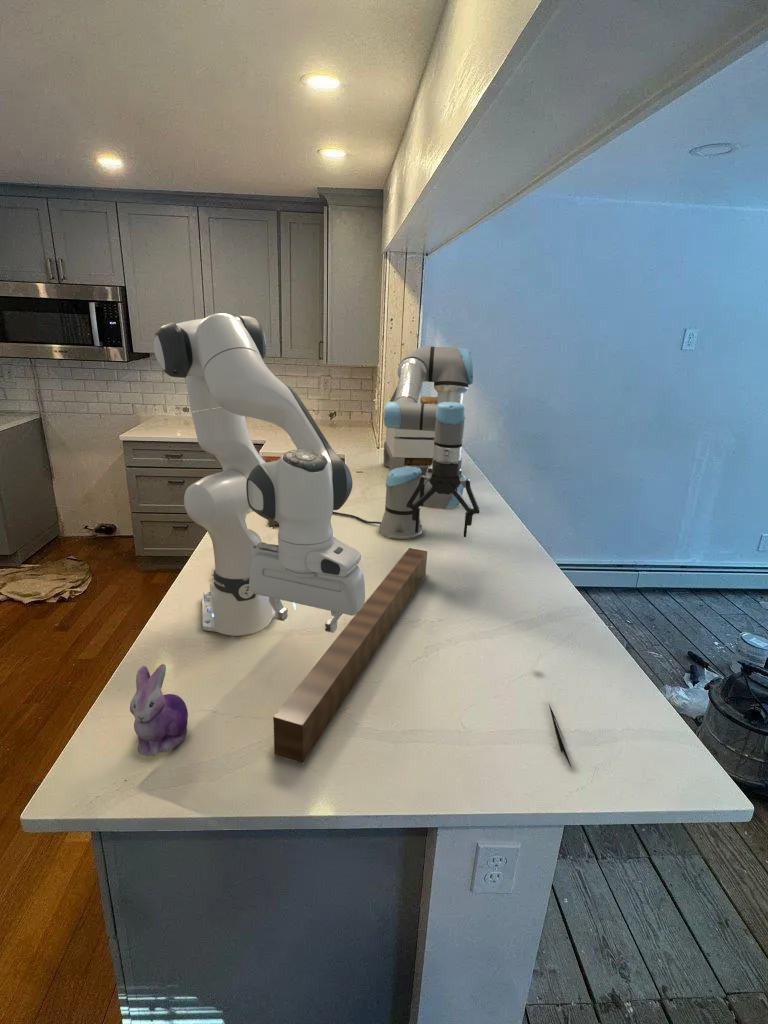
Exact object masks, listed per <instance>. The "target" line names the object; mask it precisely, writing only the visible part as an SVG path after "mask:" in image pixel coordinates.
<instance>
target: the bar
mask: <svg viewBox="0 0 768 1024" xmlns="http://www.w3.org/2000/svg"><path fill="white" fill-rule="evenodd" d="M427 561H428V551H427V550H423V549H418V548H411V547H409V548H408V549H407V550H406V551H405V553H404V554H403V555H402V556H401V558H400V559H399V560H398V561H397V563H395V565H394V566H393V568H392V569H390V571H389V572H388V574H387V575H386V576H385V577H384V579H383V580H382V581H381V582H380V584H379V585H378V586H377V587H376V588H375V589H374V591H373V592H372V594H370V596H369V597H368V598H367V599H366V600H365V603H364V605H363V607H362V608H361V610H360V611H359V612H358V613H357V614H355V615H353V616H352V618H351V619H350V621H349V622H348V623H347V625H346V626H345V627H344V628H343V630H342V631H341V632H340V633H339V634H338V636H337V637H336V638H335V640H333V642H332V643H331V645H330V646H329V647H328V648H327V650H326V651H325V652H324V653H323V654H322V656H321V657H320V658H319V660H317V662H315V664H314V665H313V667H312V668H311V670H310V671H309V672H308V673H307V675H305V676H304V678H303V679H302V681H301V682H299V685H297V687H296V688H295V689H294V691H293V692H292V693H291V694H290V695H289V697H288V698H287V699H286V701H285V702H284V703H283V704H282V706H280V708H279V709H278V710H277V712H276V713H275V714H274V716H273V717H272V719H273V720H272V721H273V749H274V750H273V751H274V756H278V757H281V758H284V759H287V760H290V761H292V762H297V763H299V764H304V763H305V762H306V759H308V756H309V755H310V754H311V752H312V750H313V749H314V748H315V746H316V744H317V743H318V742H319V740H320V738H321V737H322V735H323V733H324V732H325V730H326V729H327V728H328V726H329V724H330V723H331V721H332V720H333V718H334V717H335V716H336V714H337V712H338V711H339V710H340V707H342V705H343V703H344V701H345V700H346V699H347V697H348V696H349V694H350V693H351V691H352V689H353V687H354V686H355V685H356V683H357V682H358V680H359V679H360V677H361V676H362V675H363V672H364V671H365V670H366V668H367V667H368V665H369V663H370V662H371V660H372V658H373V657H374V655H376V653H377V651H378V649H379V648H380V646H381V645H382V643H383V642H384V640H385V639H386V638H387V636H388V634H389V633H390V631H391V629H392V628H393V627H394V625H395V623H396V621H397V620H398V619H399V617H400V616H401V614H402V613H403V611H404V610H405V608H406V607H407V605H408V604H409V602H410V600H411V599H412V598H413V596H414V594H415V593H416V592H417V590H418V588H419V586H420V585H421V584H422V582H423V581H424V579H425V577H426V573H427Z"/></svg>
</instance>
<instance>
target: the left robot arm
mask: <svg viewBox="0 0 768 1024" xmlns="http://www.w3.org/2000/svg"><path fill="white" fill-rule="evenodd" d="M266 340H267V339H266V336H265V332H264V330H263V327H262V325H261V323H260V322H259V321H258V320H257V319H256V318H255V317H253V316H249V315H241V314H240V315H239V314H238V315H236V316H234V315H232V314H230V313H225V312H218V313H213V314H210V315H208V316H206V317H205V318H197V319H191V320H186V321H181V322H178V323H176V322H170V323H167V324H164V325H162V326H160V327H159V328H158V329H157V330H156V332H155V334H154V341H153V352H154V356H155V358H156V361H157V363H158V364H159V366H160V368H161V369H162V371H163V372H164V373H165V374H166V375H168V376H169V377H173V378H178V379H179V378H181V379H186V387H187V398H188V404H189V409H190V412H191V418H192V422H193V426H194V431H195V434H196V439H197V444H198V445H199V447H200V448H201V449H202V450H203V451H204V452H206V453H208V454H211V455H213V456H214V457H215V458H216V459H217V460H218V462H219V464H220V466H221V468H222V471H220V472H216V473H213V474H209V475H206V476H204V477H202V478H200V479H198V480H197V481H195V482H194V483H192V484H191V485H188V487H187V488H186V489H185V492H184V497H183V507H184V509H185V512H186V514H187V516H188V517H189V518H190V520H192V522H193V523H194V524H197V525H199V526H200V527H202V528H203V529H205V530H206V532H207V533H208V535H209V537H210V539H211V540H210V541H211V543H212V549H213V558H214V570H213V574H212V580H213V581H212V582H210V584H209V591H205V592H202V594H203V595H202V597H203V598H202V599H201V619H202V620H201V621H202V630H204V631H207V632H216V633H219V634H222V635H227V636H235V637H237V636H247V635H252V634H255V633H258V632H261V631H262V630H264V629H265V628H267V627H268V626H269V625H270V624H271V623H272V622H271V621H273V619H275V620H277V621H281V622H285V620H287V619H288V616H289V615H288V612H289V611H288V610H289V609H288V608H287V607H284V605H283V603H282V601H284V602H285V601H286V602H289V603H292V604H293V605H292V606H293V608H294V611H296V610H297V609H296V608H297V606H296V604H298V605H302V606H307V607H312V608H315V609H320V610H325V611H330V613H331V614H330V615H331V617H329V618H328V619H327V620H326V621H325V623H324V625H325V626H324V627H325V628H324V631H325V632H327V633H328V632H329V633H332V634H334V633H335V632H336V631H337V630H338V620H339V619H340V618H341V616H342V615H346V616H352V617H354V616H355V615H356V614H357V613H358V612H359V611H360V610H361V608H362V607H363V605H364V604H365V602H366V584H365V576H364V572H363V570H362V568H361V567H360V566H359V563H360V562H361V560H362V554H361V552H360V551H359V550H358V549H356V548H354V547H352V546H350V545H349V544H346V543H345V542H343V541H341V540H339V538H336V537H335V536H334V530H333V526H332V515H333V512H334V511H338V510H340V509H341V508H342V507H343V506H344V505H345V503H346V502H347V500H348V499H349V497H350V495H351V492H352V490H353V477H352V473H351V470H350V468H349V467H348V465H347V464H346V462H345V461H344V460H343V459H342V458H341V457H340V455H339V454H338V453H337V452H336V451H335V450H334V448H333V447H332V446H331V444H330V443H329V442H328V440H327V438H326V437H325V435H324V434H323V431H322V430H321V429H320V427H319V425H318V424H317V423H316V421H315V420H314V418H313V416H312V414H311V413H310V411H309V410H308V408H307V407H306V405H305V404H304V402H303V400H302V399H301V397H300V396H299V395H298V394H297V392H296V391H295V390H294V389H293V388H292V387H290V386H289V385H287V384H285V383H284V382H282V381H281V380H280V379H279V378H278V377H277V376H276V375H275V374H274V373H273V372H272V371H271V370H270V369H269V367H268V366H267V365H266V363H265V362H264V358H265V357H266V354H267V341H266ZM246 418H251V419H256V420H260V421H263V422H267V423H270V424H273V425H275V426H277V427H279V428H281V429H282V430H283V431H285V433H286V434H287V435H288V437H289V439H291V441H292V443H293V445H294V446H295V448H296V449H292V450H289V451H286V452H284V453H283V454H282V455H281V456H280V457H279V459H277V460H272V461H267V462H266V461H265V460H264V459H263V458H262V456H261V455H260V453H259V452H258V451H257V449H256V447H255V445H254V443H253V441H252V438H251V436H250V432H249V429H248V423H247V421H246ZM253 512H254V513H256V514H257V515H258V516H260V517H261V518H263V519H265V520H267V521H268V520H270V521H273V520H275V521H277V522H278V523H279V524H278V533H277V544H275V543H273V544H272V543H267V542H264V541H262V538H261V536H260V535H259V534H258V533H257V532H256V531H254V530H252V529H250V528H248V526H247V523H246V517H247V515H249V514H250V513H253ZM332 617H333V618H332Z"/></svg>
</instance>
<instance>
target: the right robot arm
mask: <svg viewBox="0 0 768 1024" xmlns="http://www.w3.org/2000/svg"><path fill="white" fill-rule="evenodd" d="M473 360H474V359H473V354H472V351H471V350H470V349H469V348H464V347H458V346H457V347H454V346H453V347H452V346H451V347H450V346H431V345H430V346H429V345H425V346H420V347H416V348H415V349H413V350H411V351H409V352H408V353H406V355H404V356H403V357H402V359H401V360H400V361H399V364H398V367H397V376H398V382H397V386H396V388H397V391H396V395H395V400H394V401H393V402H389V401H387V402H386V403H385V405H384V411H383V425H384V426H385V428H386V427H387V428H394V429H407V430H423V431H435V437H434V450H433V463H432V464H431V465H430V466H429V465H428V466H427V469H428V472H427V471H426V472H422V469H421V468H420V467H419V466H418V467H417V466H404V467H399V468H395V469H393V470H391V471H390V470H389V471H388V473H387V475H386V482H385V487H386V488H385V489H386V490H385V504H384V505H385V507H384V508H385V509H384V513H383V515H382V519H381V521H370V520H365V519H363V518H361V517H359V516H356V515H353V514H350V513H343V512H337V511H333V513H332V515H333V514H334V515H339V516H345V517H348V518H349V517H350V518H354V519H357V520H359V521H361V522H363V523H366V524H369V525H371V524H374V525H375V524H376V525H379V526H378V533H379V534H380V535H381V536H382V537H385V538H387V539H389V540H395V541H410V540H415V539H418V538H420V537H421V536H422V535H423V525H422V524H421V518H420V517H421V516H420V515H421V513H420V512H421V508H422V507H424V508H434V509H444V510H447V509H452V510H453V509H458V508H459V507H460V505H461V507H462V508H463V509H464V511H465V514H464V515H465V516H464V525H463V536H462V537H463V538H467V534H468V533H467V531H468V527H470V526H472V525H473V516H474V515H479V514H480V511H481V509H480V507H479V504H478V502H477V500H476V497H475V494H474V491H473V489H472V486H471V479H470V478H469V477H468V478H466V476H465V475H463V474H462V468H461V469H460V462H459V461H460V460H461V458H462V453H463V443H462V441H463V439H464V432H463V430H464V429H465V421H464V420H466V407H465V404H463V402H464V401H463V400H464V394H465V393H466V392H467V391H468V390H469V385H470V386H471V385H472V384H473V383H474V361H473ZM425 382H428V383H433V389H434V390H435V391H436V393H437V396H436V397H437V404H421V403H420V397H422V389H423V383H425ZM464 431H465V430H464ZM464 489H465V491H466V494H467V496H468V498H469V502H470V504H471V505H472V506H470V504H469V503H468V501H467V500H466V499H465V497H464V496H463V493H464Z"/></svg>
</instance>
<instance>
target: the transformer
mask: <svg viewBox="0 0 768 1024" xmlns="http://www.w3.org/2000/svg"><path fill="white" fill-rule="evenodd" d="M396 391H397V387H396V388H395V390H394V392H393V394H392V395H391V398H390V400H389V401H388V402H393V401H394V400H395V395H396ZM437 397H438V396H421V397H420V403H421V404H437ZM465 420H466V419H465ZM465 420H464V422H465ZM464 431H465V430H463V433H464ZM434 437H435V431H423V430H407V429H394V428H387V427H386V426H385V438H384V442H383V466H384V467H388V468H389V472H390V471H391V470H393V469H395V468H399V467H405V466H406V467H417V466H418V467H429V466H430V465H431V464H432V463H433V450H434ZM463 442H464V440H462V444H463ZM462 461H463V460H462V457H461V460H460V461H459V462H460V469H461V470H462Z"/></svg>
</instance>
